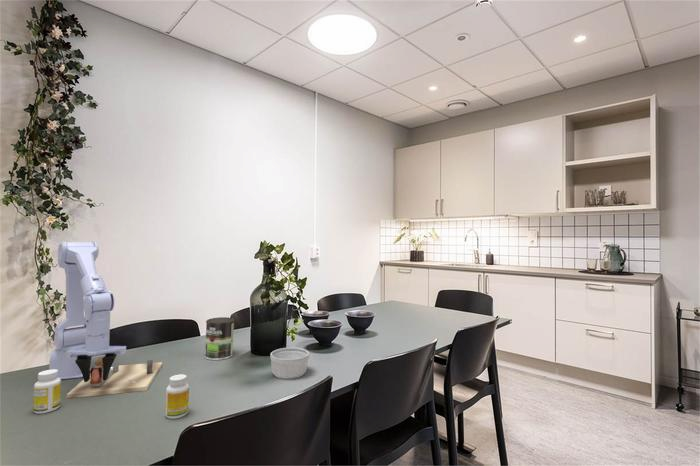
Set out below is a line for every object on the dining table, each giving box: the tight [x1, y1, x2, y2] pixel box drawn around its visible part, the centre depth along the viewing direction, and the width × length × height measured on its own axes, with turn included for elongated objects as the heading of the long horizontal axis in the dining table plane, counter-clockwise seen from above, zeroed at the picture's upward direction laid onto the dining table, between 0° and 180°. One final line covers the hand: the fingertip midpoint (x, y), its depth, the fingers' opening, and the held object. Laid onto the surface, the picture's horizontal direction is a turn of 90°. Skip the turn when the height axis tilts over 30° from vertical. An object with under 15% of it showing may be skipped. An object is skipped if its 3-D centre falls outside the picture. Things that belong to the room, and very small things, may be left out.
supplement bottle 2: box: [164, 373, 190, 420], centre depth 91 cm, size 5×5×10 cm
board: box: [66, 356, 163, 399], centre depth 112 cm, size 20×22×5 cm
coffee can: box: [204, 316, 235, 361], centre depth 137 cm, size 10×10×14 cm
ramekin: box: [269, 347, 310, 380], centre depth 120 cm, size 13×13×7 cm
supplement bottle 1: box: [32, 369, 62, 415], centre depth 92 cm, size 5×5×10 cm
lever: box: [90, 363, 120, 387], centre depth 110 cm, size 16×4×6 cm, turn 18°
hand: (96, 380), depth 103 cm, fingers open, 4 cm apart
